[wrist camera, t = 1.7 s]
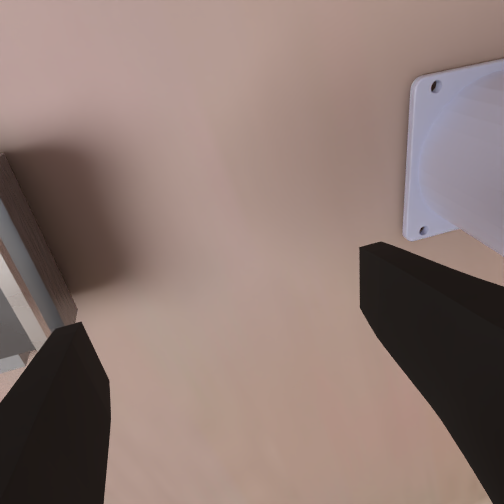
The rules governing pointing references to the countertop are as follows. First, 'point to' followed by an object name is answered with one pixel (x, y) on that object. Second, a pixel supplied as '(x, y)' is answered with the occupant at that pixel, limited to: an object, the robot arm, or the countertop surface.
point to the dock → (14, 362)
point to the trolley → (27, 276)
